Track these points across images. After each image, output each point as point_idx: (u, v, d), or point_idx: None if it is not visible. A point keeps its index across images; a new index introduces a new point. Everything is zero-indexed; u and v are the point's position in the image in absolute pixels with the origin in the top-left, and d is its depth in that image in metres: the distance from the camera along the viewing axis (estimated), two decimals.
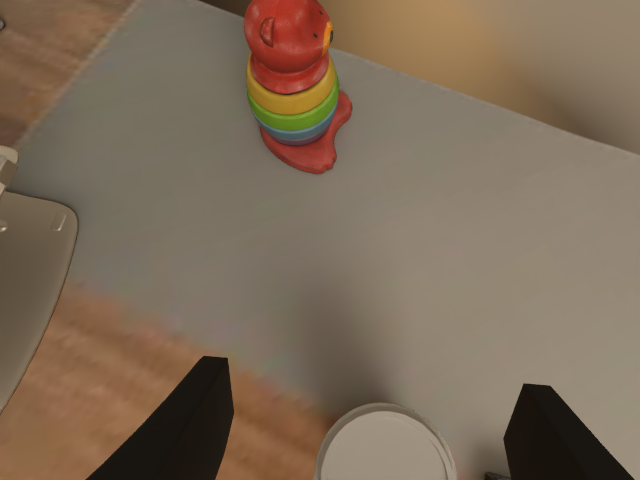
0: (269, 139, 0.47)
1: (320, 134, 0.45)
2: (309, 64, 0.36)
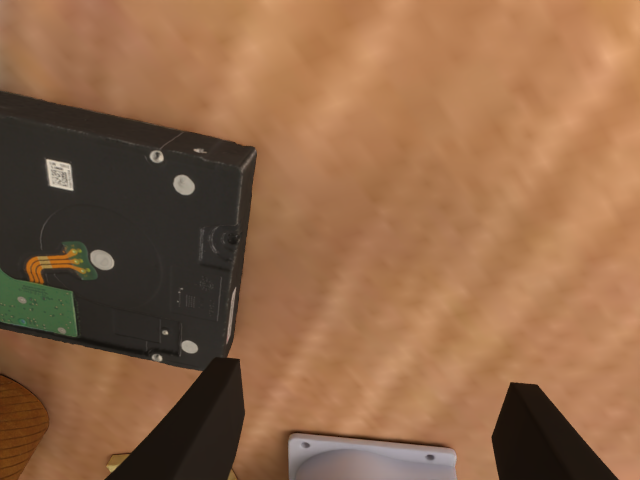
0: None
1: None
2: None
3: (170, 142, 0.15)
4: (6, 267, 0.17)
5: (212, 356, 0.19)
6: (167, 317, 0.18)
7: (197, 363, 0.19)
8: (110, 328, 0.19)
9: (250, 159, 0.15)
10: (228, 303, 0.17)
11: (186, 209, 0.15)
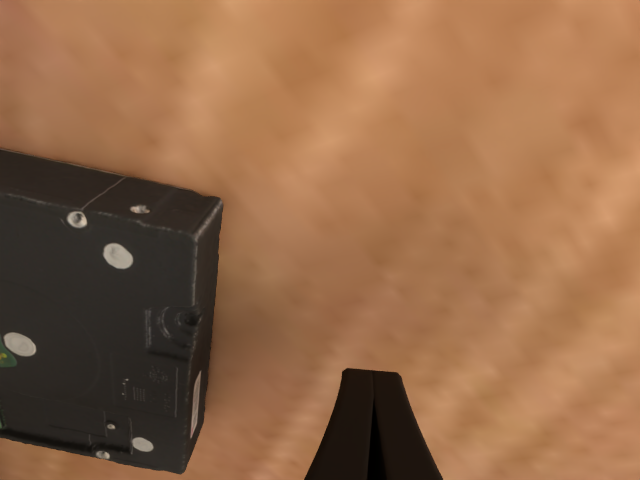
0: None
1: None
2: None
3: (100, 197, 0.11)
4: None
5: (171, 455, 0.15)
6: (111, 411, 0.14)
7: (154, 462, 0.15)
8: (43, 419, 0.15)
9: (212, 218, 0.11)
10: (188, 397, 0.13)
11: (123, 286, 0.11)
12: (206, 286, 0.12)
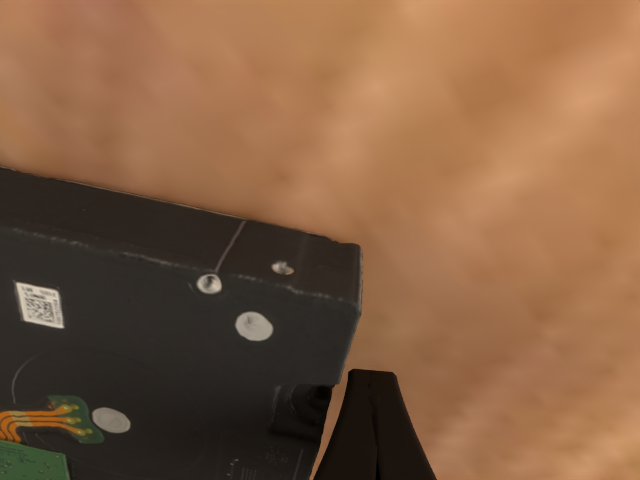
0: None
1: None
2: None
3: (230, 251, 0.08)
4: None
5: None
6: None
7: None
8: None
9: None
10: None
11: (254, 361, 0.09)
12: None
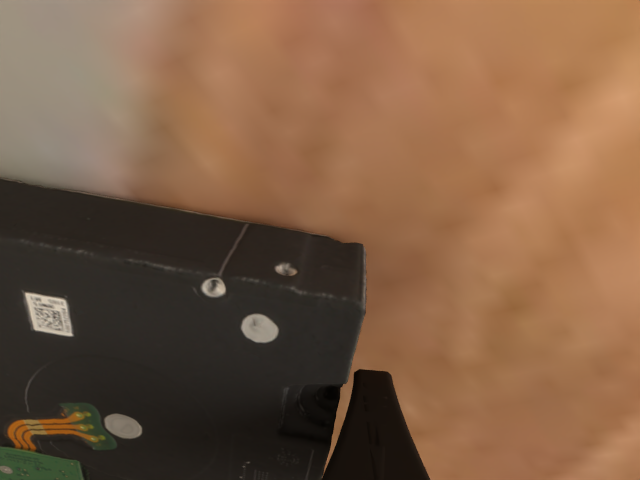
0: None
1: None
2: None
3: (233, 255, 0.09)
4: None
5: None
6: None
7: None
8: None
9: None
10: None
11: (262, 363, 0.09)
12: None
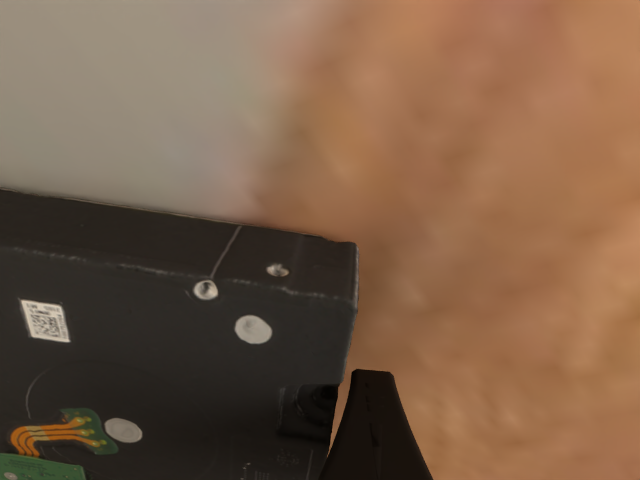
0: None
1: None
2: None
3: (225, 257, 0.09)
4: None
5: None
6: None
7: None
8: None
9: (358, 271, 0.09)
10: None
11: (256, 363, 0.09)
12: None
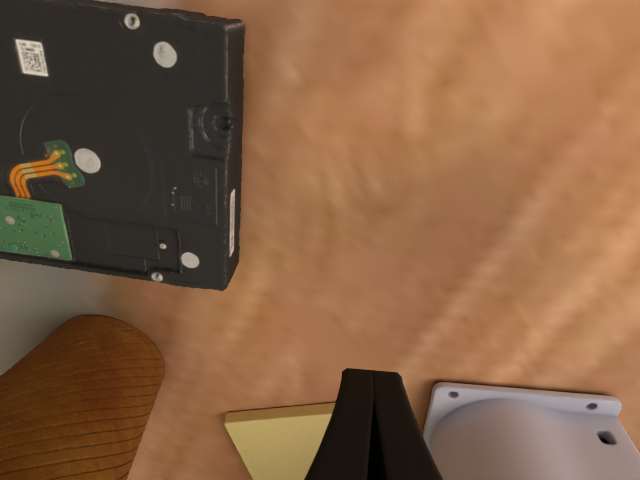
0: None
1: None
2: None
3: (147, 10, 0.13)
4: None
5: (214, 269, 0.17)
6: (163, 225, 0.16)
7: (200, 279, 0.17)
8: (105, 247, 0.17)
9: (237, 26, 0.14)
10: (226, 202, 0.16)
11: (170, 86, 0.14)
12: (235, 95, 0.15)
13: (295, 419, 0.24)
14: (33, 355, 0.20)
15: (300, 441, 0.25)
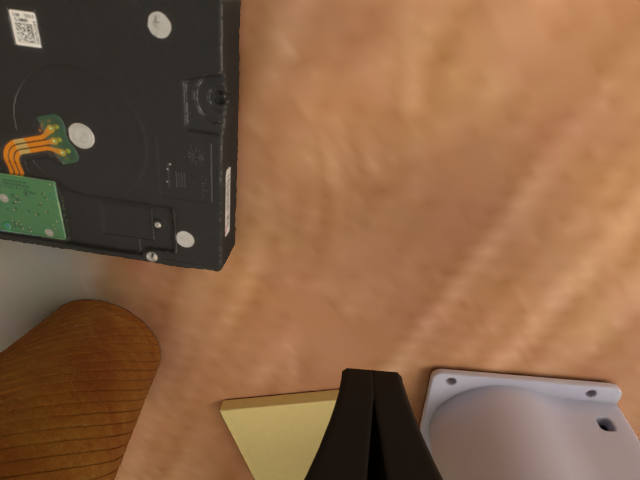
0: None
1: None
2: None
3: None
4: None
5: (209, 248, 0.17)
6: (158, 203, 0.16)
7: (195, 259, 0.17)
8: (100, 226, 0.17)
9: None
10: (221, 178, 0.15)
11: (165, 57, 0.14)
12: (231, 69, 0.15)
13: (292, 407, 0.24)
14: (27, 337, 0.20)
15: (297, 429, 0.25)
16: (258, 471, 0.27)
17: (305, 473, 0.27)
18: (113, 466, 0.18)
